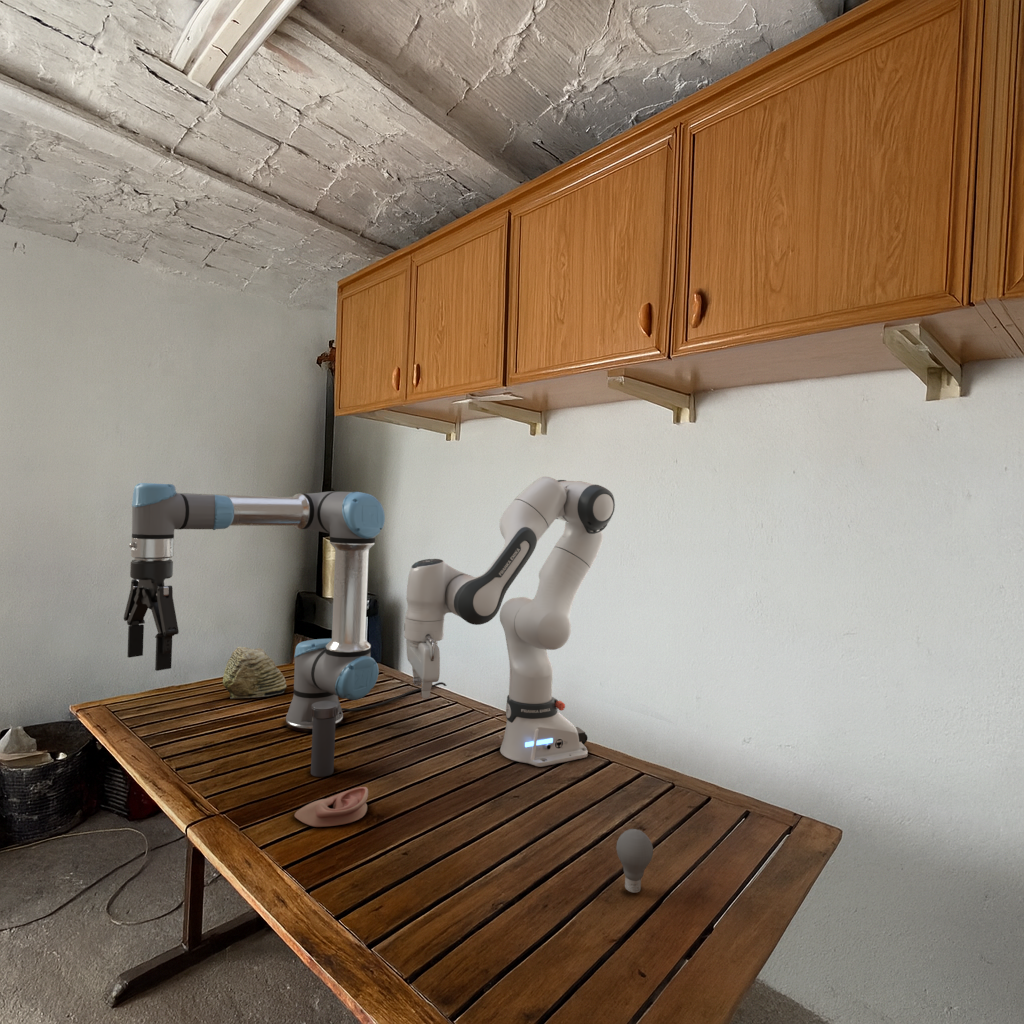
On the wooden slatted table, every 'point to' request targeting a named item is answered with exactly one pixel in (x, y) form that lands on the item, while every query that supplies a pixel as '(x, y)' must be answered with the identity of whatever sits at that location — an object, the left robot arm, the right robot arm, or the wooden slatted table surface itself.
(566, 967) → the wooden slatted table surface
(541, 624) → the right robot arm
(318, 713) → the lid
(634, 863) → the light bulb
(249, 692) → the fossil
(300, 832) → the wooden slatted table surface
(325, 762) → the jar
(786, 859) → the wooden slatted table surface
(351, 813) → the anatomical model
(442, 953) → the wooden slatted table surface
